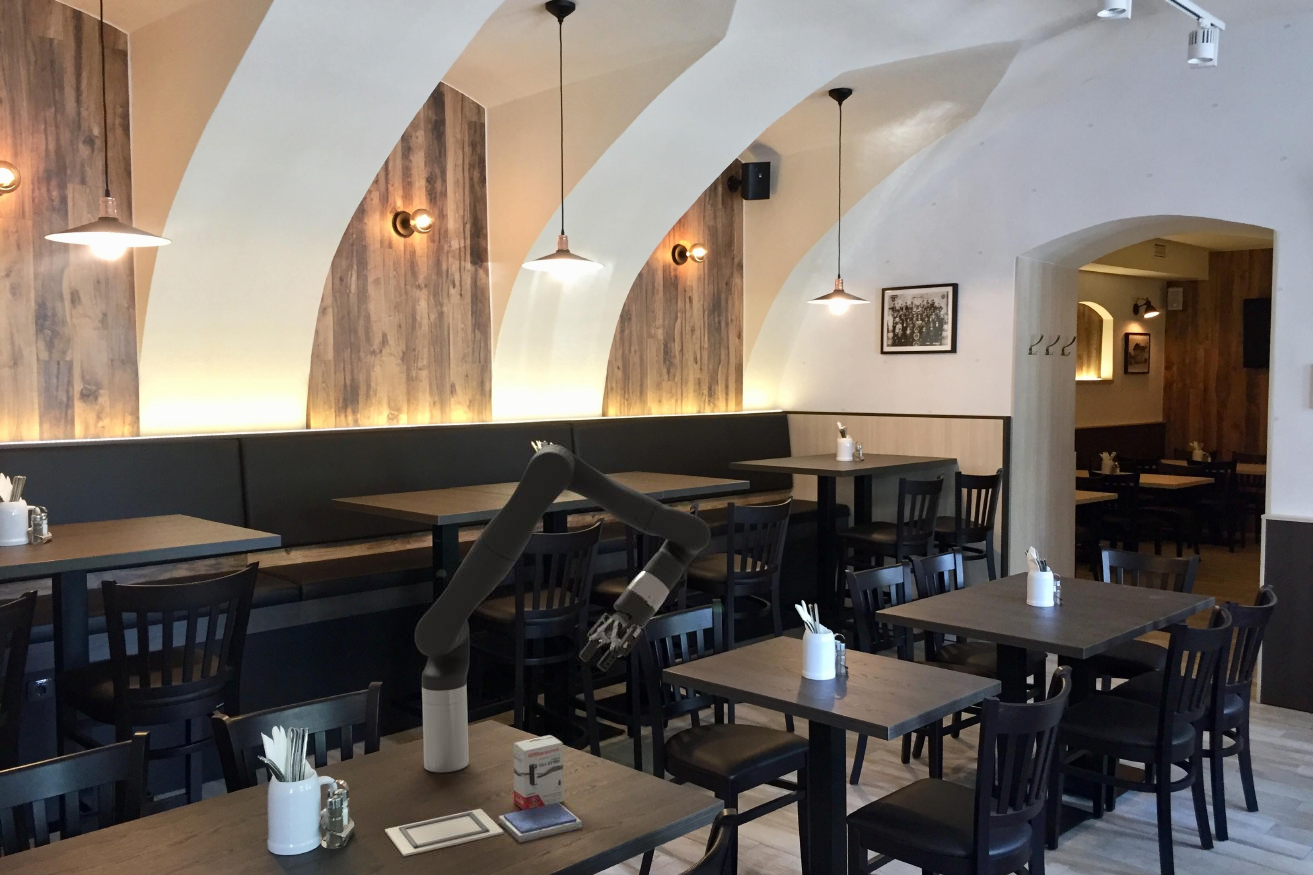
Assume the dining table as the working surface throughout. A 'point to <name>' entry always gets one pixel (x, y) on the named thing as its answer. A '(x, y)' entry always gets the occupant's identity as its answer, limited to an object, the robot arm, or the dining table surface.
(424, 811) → the dining table surface
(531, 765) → the ink box
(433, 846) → the sheet
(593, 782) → the dining table surface
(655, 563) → the robot arm
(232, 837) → the dining table surface
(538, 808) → the ink pad
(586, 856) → the dining table surface
